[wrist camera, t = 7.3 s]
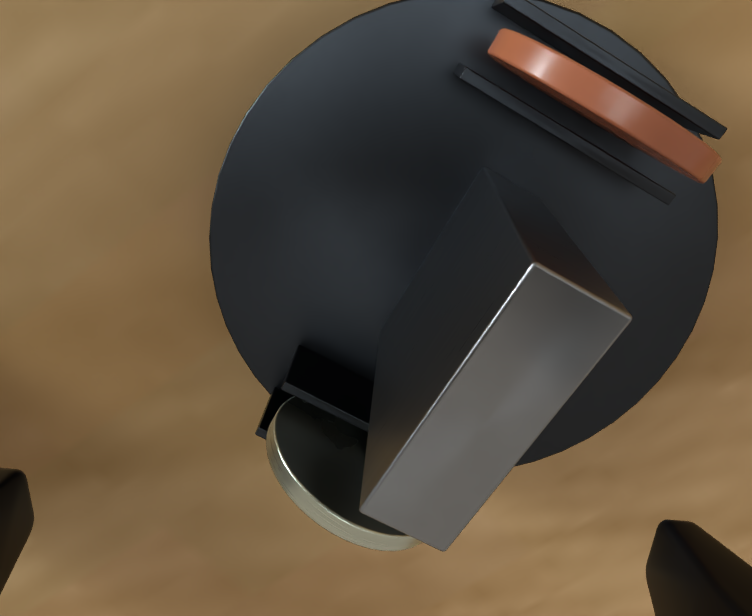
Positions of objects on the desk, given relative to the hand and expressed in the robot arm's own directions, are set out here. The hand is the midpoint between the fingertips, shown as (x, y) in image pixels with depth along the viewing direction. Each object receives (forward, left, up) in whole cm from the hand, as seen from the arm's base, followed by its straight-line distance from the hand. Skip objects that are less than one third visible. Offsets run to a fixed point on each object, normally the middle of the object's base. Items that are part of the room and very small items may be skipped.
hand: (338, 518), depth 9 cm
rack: (+2, -2, -13) cm, 13 cm away
